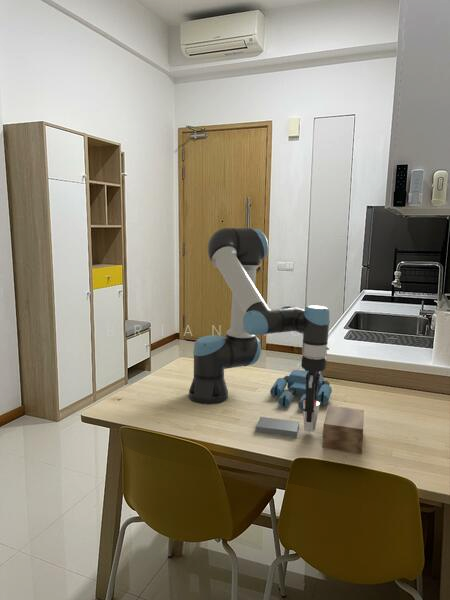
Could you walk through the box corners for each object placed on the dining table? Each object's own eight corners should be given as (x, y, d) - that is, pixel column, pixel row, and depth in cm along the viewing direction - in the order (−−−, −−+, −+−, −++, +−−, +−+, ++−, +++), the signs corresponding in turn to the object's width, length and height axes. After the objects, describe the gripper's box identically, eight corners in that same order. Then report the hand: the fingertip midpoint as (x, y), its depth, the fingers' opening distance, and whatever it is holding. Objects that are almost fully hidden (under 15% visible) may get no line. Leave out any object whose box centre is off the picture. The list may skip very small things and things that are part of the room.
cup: (315, 425, 146) (318, 390, 144) (319, 433, 141) (322, 396, 139) (299, 425, 146) (301, 389, 144) (302, 432, 141) (305, 396, 139)
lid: (255, 433, 144) (255, 426, 144) (260, 423, 152) (260, 416, 152) (296, 439, 141) (296, 431, 141) (299, 428, 149) (299, 421, 148)
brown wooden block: (322, 447, 135) (323, 423, 134) (327, 427, 149) (328, 405, 148) (361, 453, 131) (363, 429, 130) (362, 432, 146) (363, 410, 145)
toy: (264, 388, 167) (285, 358, 193) (265, 410, 169) (285, 377, 195) (325, 397, 159) (337, 364, 185) (324, 420, 161) (337, 384, 187)
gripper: (323, 365, 130) (318, 441, 134) (329, 350, 147) (324, 417, 151) (297, 362, 132) (293, 437, 136) (305, 347, 149) (301, 414, 153)
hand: (309, 426), depth 143 cm, fingers closed on cup, 5 cm apart
